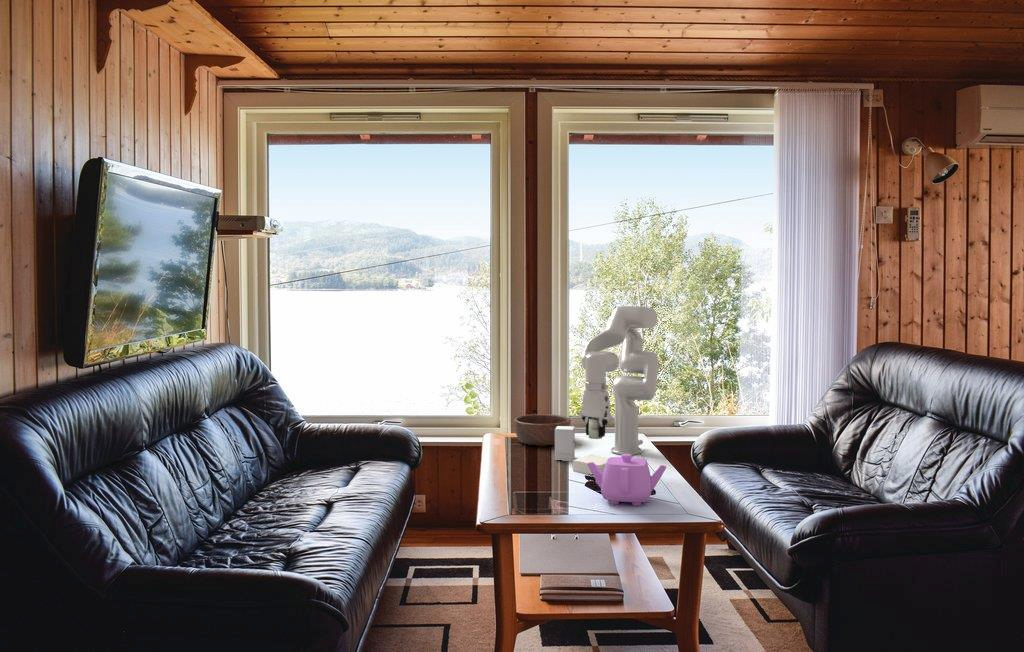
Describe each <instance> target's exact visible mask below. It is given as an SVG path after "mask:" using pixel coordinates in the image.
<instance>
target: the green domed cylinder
mask: <svg viewBox="0 0 1024 652" xmlns="http://www.w3.org/2000/svg"><path fill="white" fill-rule="evenodd" d="M599 426H600V423H599V419H598V418H589V435H588V439H590V440H600V439H603V437H599Z"/></svg>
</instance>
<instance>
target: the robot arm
mask: <svg viewBox="0 0 1024 652" xmlns="http://www.w3.org/2000/svg"><path fill="white" fill-rule="evenodd" d="M657 323H658V313H657V311H656V310H655V309H654V308H653V307H648V306H647V307H646V306H639V305H638V306H635V305H634V306H631V305H630V306H628V305H623V306H617V307H615V308H614V309H613V311H612V312H611V314H610V316H609V319H608V321H607V324H606V326H605V329H604V331H602V332H600V333H599V334H597V335H595V336H594V337H592V338H591V339H590V340H589V341H588V342H587V344H586V345H585V347H584V350H583V352H582V354H581V358H580V363H581V367H582V368H583V370H585V389H584V391H583V395H582V405H581V407H582V408H581V410H580V411H579V413H578V415H579V416H580V418H581V419H582V421H583V422H584V424H585V434H586V436H589V418H598V419H599V423H600V426H599V437H602V438H604V437H605V436H606V426H607V425H608V424H609V423H610V422H611V421H612V420H613V416H612V414H611V401H610V395H609V391H608V389H609V385H608V384H607V373H612V372H615V371H616V370H617V369H618V367H619V369H620V371H621V372H623V373H626V374H636V376H634V375H620V376H617V377H616V378H614V380H613V382H612V392H613V398H614V447H611V449H610V452H611V453H613V454H616V455H622V454H631V455H632V456H635V455H640V454H642V453H643V449H642V448H640V447H639V446H640V445H643V444H644V440H643V439H639V408H638V406H637V403H636V402H635V401H636V400H637V401H652V400H653V399H654V398H655V395H656V391H657V383H658V381H657V380H658V374H659V357H658V355H657V353H655V352H653V351H650V350H648V351H646V350H643V344H644V340H643V337H642V336H641V334H640V332H639V331H638V330H637V329H653V328H655V326H656V325H657ZM619 345H621V350H620V358H619V356H618V354H617V353H615V352H611V351H603V350H606V349H609V348H610V349H611V348H613V347H616V346H619ZM637 375H644V376H637Z"/></svg>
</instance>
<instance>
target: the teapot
mask: <svg viewBox="0 0 1024 652" xmlns="http://www.w3.org/2000/svg"><path fill="white" fill-rule="evenodd" d="M608 458H609V459H608V460H607V462H606V465H605V468H604V472H603V473H602V472H601V471H600V470H599V469H598V467H597V466H596V465H595V464H594V462H590V463H588V464H587V465H588V467H589V468H590V470H591V472H592V474H593V475H592V476H593V478H594V479H595V482H596V483H597V485H598V487H599V488H600V492H601V496H602V498H603V500H605V501H609V505H615V506H616V505H619V504H620V502H623V503H631V504H632V506H634V507H641V506H642V505H643V504H642V503H646V502H648V501H649V499H650V497H651V495H652V491H654V489H655V488H656V486H657V484H658V483H659V481H660V480H661V478H662V476H663V474H664V473H665V471H666V469H667V465H661V464H660V465H659V467H658V468H657V469H656V470H655V471H654V473H652V475H651V471H650V468H649V467H650V466H649V463H648V461H647V459H645V458H640V457H639V458H638V457H634V455H631V454H622V455H621V456H612V457H611V456H610V457H608Z"/></svg>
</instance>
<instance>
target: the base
mask: <svg viewBox="0 0 1024 652" xmlns="http://www.w3.org/2000/svg"><path fill="white" fill-rule="evenodd" d="M609 458H610V457H606V456H601V455H596V454H590V455H586V456H583V457H579V458H575V459H573V461H572V471H573V472H576V473H582V474H587V475H591V474H592V472H591V470H590V468H589V467H588V465H587V464H588V463H590V462H594V464H595V465H596V466H597V467H598V469H599V470H600V471H601V472H602V473H603V472H604V468H605V465H606V462H607V460H608V459H609Z"/></svg>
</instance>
